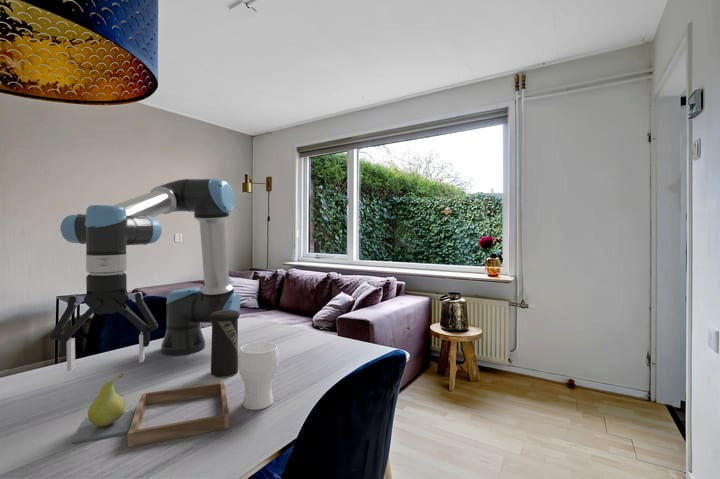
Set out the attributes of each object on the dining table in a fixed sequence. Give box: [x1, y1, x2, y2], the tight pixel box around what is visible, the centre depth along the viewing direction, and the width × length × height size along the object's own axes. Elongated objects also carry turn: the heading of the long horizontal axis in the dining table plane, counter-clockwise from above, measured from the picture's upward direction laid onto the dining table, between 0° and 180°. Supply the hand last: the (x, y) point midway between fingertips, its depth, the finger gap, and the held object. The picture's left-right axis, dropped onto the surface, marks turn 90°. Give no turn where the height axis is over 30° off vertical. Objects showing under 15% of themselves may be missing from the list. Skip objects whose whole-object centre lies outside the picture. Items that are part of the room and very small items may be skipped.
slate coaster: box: [71, 410, 136, 444], centre depth 82 cm, size 10×10×1 cm
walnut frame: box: [127, 381, 230, 448], centre depth 88 cm, size 20×20×3 cm
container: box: [210, 310, 241, 378], centre depth 115 cm, size 9×9×20 cm
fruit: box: [87, 373, 126, 427], centre depth 82 cm, size 7×8×12 cm
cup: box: [238, 341, 280, 411], centre depth 95 cm, size 11×11×15 cm
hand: (107, 364), depth 82 cm, fingers open, 13 cm apart
